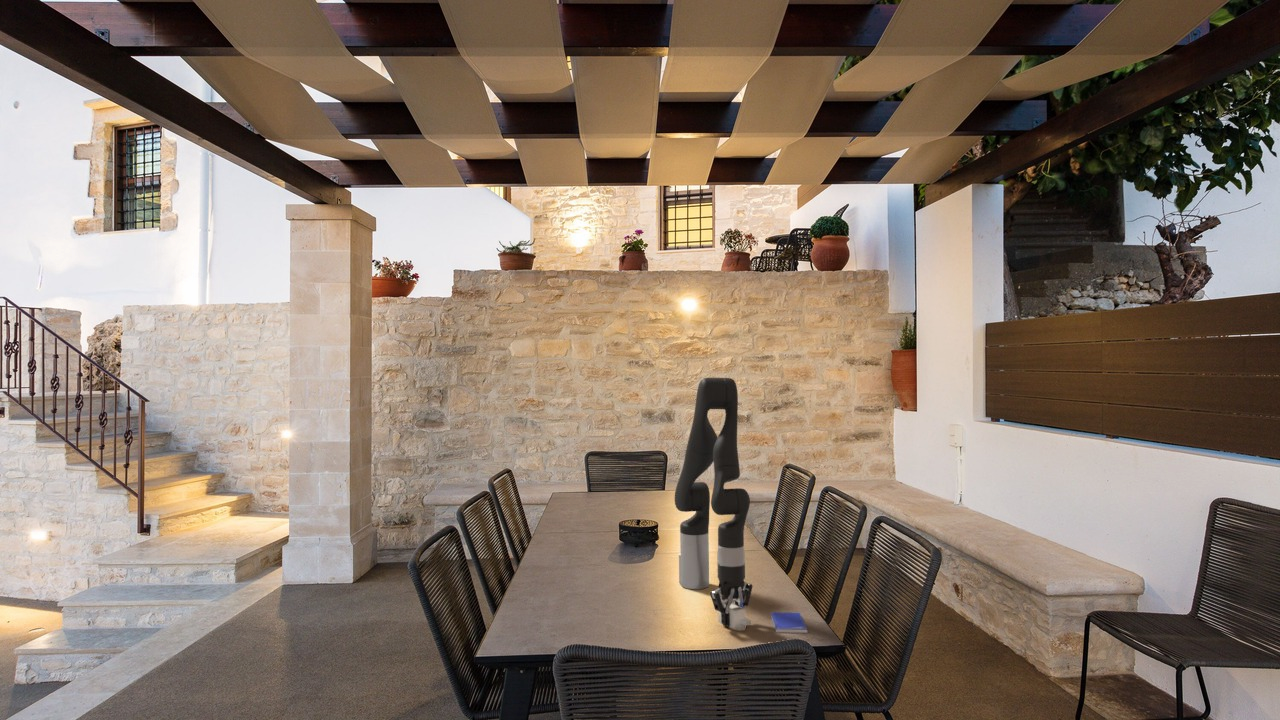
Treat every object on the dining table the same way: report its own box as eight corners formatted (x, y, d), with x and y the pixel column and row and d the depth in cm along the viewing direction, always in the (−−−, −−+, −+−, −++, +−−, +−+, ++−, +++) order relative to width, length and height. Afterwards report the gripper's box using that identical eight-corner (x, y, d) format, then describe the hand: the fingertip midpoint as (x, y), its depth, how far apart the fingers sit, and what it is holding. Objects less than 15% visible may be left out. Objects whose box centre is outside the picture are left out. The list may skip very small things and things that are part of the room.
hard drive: (807, 628, 184) (800, 612, 196) (776, 628, 185) (770, 612, 197) (807, 634, 184) (800, 618, 196) (776, 634, 185) (770, 617, 197)
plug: (716, 621, 193) (715, 603, 193) (725, 618, 195) (725, 600, 195) (743, 633, 184) (743, 614, 184) (753, 630, 186) (752, 612, 186)
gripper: (741, 554, 197) (742, 615, 197) (702, 562, 190) (703, 625, 189) (759, 560, 191) (760, 622, 191) (720, 569, 183) (721, 634, 183)
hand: (731, 623), depth 190 cm, fingers open, 3 cm apart
